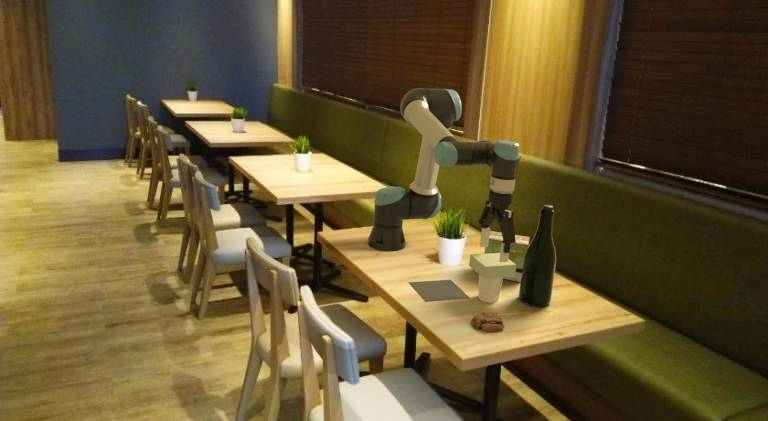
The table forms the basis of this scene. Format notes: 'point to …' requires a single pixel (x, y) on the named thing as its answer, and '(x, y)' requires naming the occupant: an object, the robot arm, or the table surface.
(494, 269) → the lid
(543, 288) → the dark green wine bottle
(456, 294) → the mat
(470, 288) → the table surface
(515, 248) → the tea box
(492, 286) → the white cup
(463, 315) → the table surface
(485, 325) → the cookie
